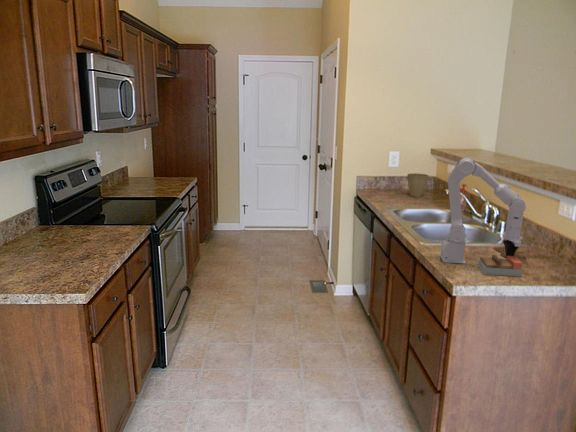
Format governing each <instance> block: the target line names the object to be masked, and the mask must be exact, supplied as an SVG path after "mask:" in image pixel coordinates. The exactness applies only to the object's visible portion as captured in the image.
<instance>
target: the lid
mask: <svg viewBox="0 0 576 432" xmlns="http://www.w3.org/2000/svg"><path fill="white" fill-rule="evenodd" d="M506 259H507V258H499V257H498V256H497V255H495V254H492V255H491V257H480V258H479V260H481V261H482V263H483V264H484V265H485V266H486V267H492V268H509V269H513V266H512V265H511V264H510V263H509V262H508V261H507V260H506Z"/></svg>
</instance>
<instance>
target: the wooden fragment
mask: <svg viewBox="0 0 576 432" xmlns="http://www.w3.org/2000/svg"><path fill="white" fill-rule="evenodd" d="M492 249H493V250H494V251H497V252H498V253H500V256H501V257H503V258H506V251H505V246H504V245H499V246H495V247H493V248H492ZM514 256H515V257H516V258H517V259H518V260H519V261H521V262H522V265H525V266H530V264H529V261H528V260H527V258H526V256H525V255H524V253H522V252H520V251H518V250H516V252H515V254H514Z"/></svg>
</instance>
